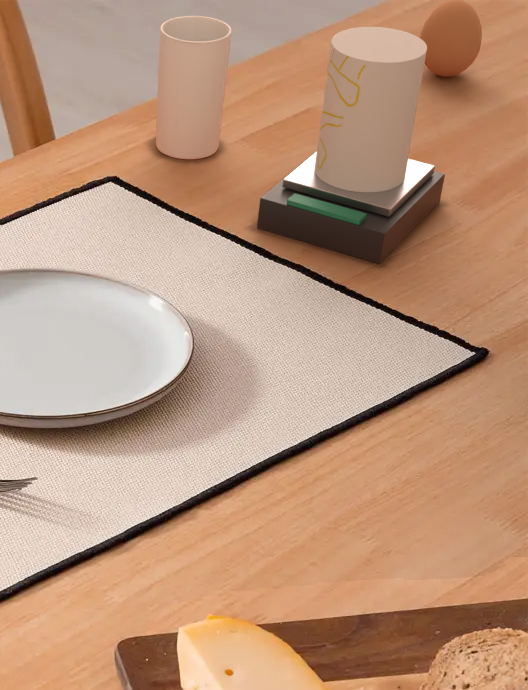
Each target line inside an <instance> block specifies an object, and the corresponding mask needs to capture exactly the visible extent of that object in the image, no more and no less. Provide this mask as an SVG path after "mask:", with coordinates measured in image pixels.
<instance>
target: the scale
mask: <svg viewBox="0 0 528 690" xmlns="http://www.w3.org/2000/svg"><path fill="white" fill-rule="evenodd" d="M315 152H316V151H314V152H313V153H312V154H310V156H312V155H313V154H314V153H315ZM310 156H308V157H307V158H306V159H305V160H304V161H306V160H307V159H308V158H309V157H310ZM302 163H303V162H301V163H300V164H299V165H297V167H299V166H300V165H301V164H302ZM297 167H296V168H297ZM296 168H294V169H293V170H291V172H293V171H294V170H295V169H296ZM291 172H289V173H288V174H287V175H286V176H285V177H287V176H288V175H289V174H290V173H291ZM445 175H446V174H445V173H444V172H439V171H436V170H434V174H433V175H432V176H431V177H430V178H429V179H427V180H426V181H425V182H424V183H423V184H422V185H421V186H420V187H419V188H418V189H417V190H416V191H415V192H414V193H413V194H412V195H411V196H410V197H409V198H408V199H407V200H406V201H405V202H404V203H403V204H402V205H401V206H400V207H399V208H398V209H397V210H396V211H395V212H394V213H393V214H392V215H391V216H390V217H387V216H384V215H380V214H377V213H373V212H370V211H366V210H362V209H359V208H355V207H352V206H348V205H345V204H341V203H338V202H334V201H330V200H327V199H323V198H320V197H316V196H313V195H309V194H306V193H302V192H298V191H295V190H291V189H288V188H284V187H282V186H283V179H284V178H282V179H281V180H280V181H279V182H277V183H276V184H275V185H274V186H273V187H272V188H270V189H269V190H268V191H267V192H266V193H264V194H263V195H262V196H261V197H260V198H259V205H258V206H259V207H258V214H257V215H258V216H257V225H256V227H257V228H256V229H260V230H263V231H267V232H270V233H274V234H277V235H280V236H284V237H286V238H291V239H294V240H297V241H301V242H303V243H308V244H311V245H313V246H318V247H321V248H324V249H328V250H331V251H334V252H338V253H341V254H345V255H347V256H351V257H355V258H358V259H361V260H365V261H368V262H372V263H375V264H377V265H381V263H383V261H384V260H385V259H386V258H387V257H388V256H390V254H392V252H393V251H394V250H395V249H396V248H397V247H398V246H399V245H400V244H401V243H402V242H403V241H404V240H405V239H406V238H407V237H408V236H409V235H410V234H411V233H412V232H413V231H414V230H415V229H416V228H417V226H418V225H420V224H421V223H422V222H423V221H424V220H425V218H426V217H428V215H429V214H430V213H432V211H434V209H436V207H438V206H439V204H440V203H441V198H442V193H443V187H444V182H445V177H446V176H445Z"/></svg>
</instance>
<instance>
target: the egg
mask: <svg viewBox="0 0 528 690" xmlns="http://www.w3.org/2000/svg"><path fill="white" fill-rule="evenodd" d="M419 38H420V39H422V40H423V41H424V42H425V43H426V45H427V52H426V57H425V63H424V66H426V68H427V69H428V70H429V71H430V72H432V73H433V74H435V75H437V76H439V77H442V78H443V77H444V78H449V77H455V76H457V75H460V74H461V73H463V72H465V71H466V70H467V69H468V68H469V67H470V66H472V64H473V63H474V62H475V61H476V59H477V58H478V55H479V53H480V50H481V46H482V39H483V29H482V25H481V20H480V17H479V15H478V14H477V11H476V9H475V8H474V7H473V5H471V4H470V3H469V2H467V1H465V0H446V1H444V2H442V3H440V4H439V5H438V6H437V7H435V8H434V9H433V10H432V11H431V13H430V14H429V16H428V17H427V19H426V20H425V22H424V23H423V25H422V28H421V31H420V35H419Z"/></svg>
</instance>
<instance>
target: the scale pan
mask: <svg viewBox="0 0 528 690" xmlns="http://www.w3.org/2000/svg"><path fill="white" fill-rule="evenodd" d="M314 152H315V153H314ZM314 152H313V153H314V154H313V153H312V154H313V155H312V154H311V155H312V156H311V155H310V156H308V157H309V158H308V157H307V158H308V159H307V158H306V159H307V160H306V159H305V160H306V161H305V160H304V161H302V162H301V163H302V164H301V163H300V164H301V165H300V164H299V165H300V166H299V165H298V166H299V167H298V166H296V169H295V168H294V169H295V170H294V169H293V170H294V171H293V170H292V171H293V172H292V171H290V172H289V173H290V174H289V173H288V174H289V175H288V174H287V175H288V176H287V175H286V176H287V177H286V176H284V177H283V178H282V179H283V186H282V187H284V188H288V189H291V190H295V191H298V192H302V193H306V194H309V195H313V196H316V197H320V198H323V199H327V200H330V201H334V202H338V203H341V204H345V205H348V206H352V207H355V208H359V209H362V210H366V211H370V212H373V213H377V214H380V215H384V216H387V217H390V216H391V215H392V214H393V213H394V212H395V211H396V210H397V209H398V208H399V207H400V206H401V205H402V204H403V203H404V202H405V201H406V200H407V199H408V198H409V197H410V196H411V195H412V194H413V193H414V192H415V191H416V190H417V189H418V188H419V187H420V186H421V185H422V184H423V183H424V182H425V181H426V180H427V179H429V178H430V177H431V176H432V175H433V174H434V171H436V170H435V169H436V165H434V164H430V163H426V162H422V161H418V160H415V159H410V158H408V163H407V168H406V174H405V179H404V181H403V182H402V183H401V184H400V185H399V186H397V187H395V188H393V189H390V190H386V191H381V192H354V191H348V190H343V189H340V188H336V187H334V186H331V185H329V184H327V183H325V182H324V181H322V180H321V179H320V178H319V177H318V176H317V175H316V173H315V162H316V154H317V150H315V151H314Z"/></svg>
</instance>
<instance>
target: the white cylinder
mask: <svg viewBox="0 0 528 690" xmlns="http://www.w3.org/2000/svg"><path fill="white" fill-rule="evenodd" d="M426 52H427V45H426V43H425V42H424V41H423V40H422V39H420V36H419V37H418V36H417V35H415V34H413V33H410V32H408V31H404V30H401V29H397V28H391V27H384V26H357V27H351V28H346V29H344V30H343V29H342V30H341V31H339V32H337V33H335V34H334V35H333V36H332V38H331V41H330V49H329V56H328V64H327V71H326V78H325V87H324V92H323V93H324V94H323V102H322V109H321V116H320V125H319V133H318V139H317V146H316V151H317V154H316V162H315V173H316V175H317V176H318V177H319V178H320V179H321V180H322V181H324V182H325V183H327V184H329V185H331V186H334V187H336V188H340V189H343V190H348V191H354V192H381V191H386V190H390V189H393V188H395V187H397V186H399V185H400V184H401V183H402V182H403V181H404V179H405V174H406V168H407V163H408V159H409V156H410V150H411V145H412V140H413V132H414V127H415V121H416V116H417V110H418V104H419V97H420V92H421V85H422V82H423V81H422V79H423V74H424V68H425V64H424V63H425V57H426Z"/></svg>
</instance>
